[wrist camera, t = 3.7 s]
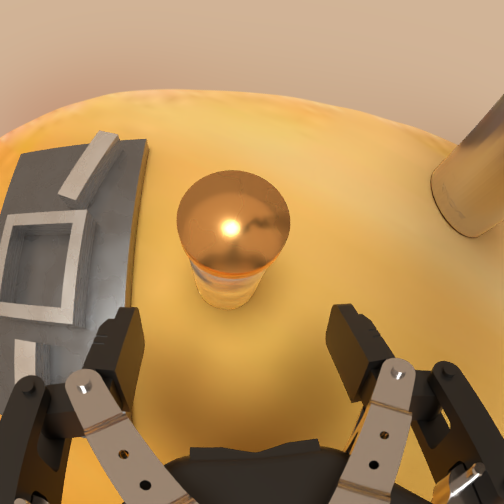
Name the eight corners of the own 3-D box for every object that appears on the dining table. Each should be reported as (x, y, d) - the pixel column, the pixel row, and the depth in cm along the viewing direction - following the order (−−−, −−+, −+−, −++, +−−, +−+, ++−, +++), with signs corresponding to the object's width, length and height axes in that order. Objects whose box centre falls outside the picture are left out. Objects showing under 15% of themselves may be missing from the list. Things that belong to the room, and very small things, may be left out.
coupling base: (27, 162, 24) (12, 142, 20) (148, 149, 25) (142, 123, 22) (-8, 406, 15) (-32, 408, 12) (133, 439, 17) (119, 452, 14)
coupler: (242, 239, 23) (259, 158, 14) (270, 296, 22) (309, 245, 13) (183, 263, 22) (162, 191, 13) (209, 322, 21) (202, 291, 11)
